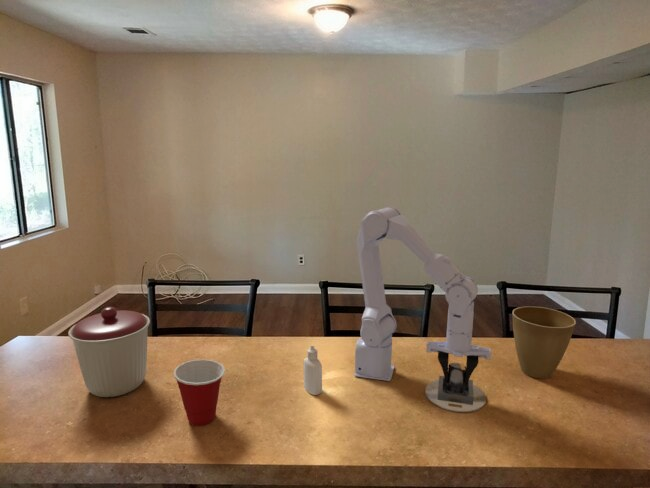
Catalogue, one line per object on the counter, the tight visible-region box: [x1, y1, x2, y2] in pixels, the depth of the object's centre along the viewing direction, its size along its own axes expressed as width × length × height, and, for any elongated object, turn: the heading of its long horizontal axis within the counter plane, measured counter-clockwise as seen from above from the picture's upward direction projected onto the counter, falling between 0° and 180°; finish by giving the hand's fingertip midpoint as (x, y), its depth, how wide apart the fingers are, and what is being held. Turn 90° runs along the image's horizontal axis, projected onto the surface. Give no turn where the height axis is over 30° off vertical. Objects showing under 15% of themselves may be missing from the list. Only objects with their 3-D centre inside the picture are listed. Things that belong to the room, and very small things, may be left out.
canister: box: [67, 306, 151, 398], centre depth 111 cm, size 18×18×21 cm
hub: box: [425, 375, 487, 413], centre depth 109 cm, size 14×14×3 cm
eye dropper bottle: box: [303, 344, 323, 396], centre depth 111 cm, size 4×6×12 cm
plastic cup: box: [173, 359, 226, 427], centre depth 99 cm, size 11×11×12 cm
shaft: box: [447, 362, 466, 393], centre depth 108 cm, size 4×4×6 cm
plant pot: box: [511, 306, 577, 380], centre depth 119 cm, size 15×15×16 cm
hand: (455, 382), depth 108 cm, fingers closed on shaft, 4 cm apart
